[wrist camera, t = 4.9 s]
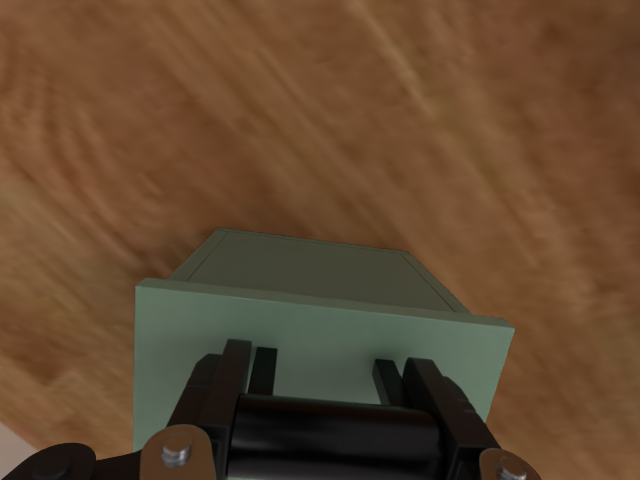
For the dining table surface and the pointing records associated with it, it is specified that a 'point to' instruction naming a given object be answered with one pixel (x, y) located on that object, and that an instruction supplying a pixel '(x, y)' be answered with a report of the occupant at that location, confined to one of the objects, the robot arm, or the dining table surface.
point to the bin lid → (313, 377)
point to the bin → (315, 270)
